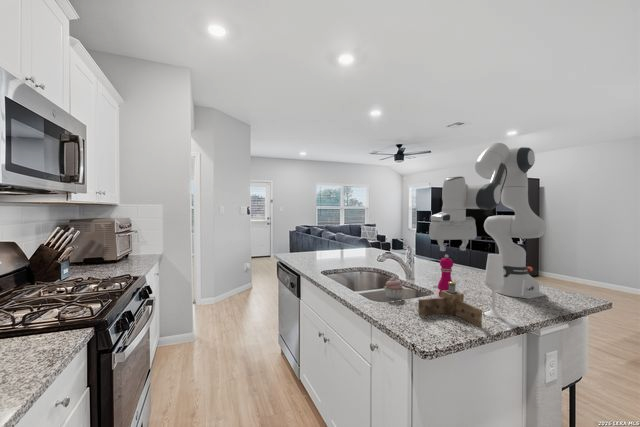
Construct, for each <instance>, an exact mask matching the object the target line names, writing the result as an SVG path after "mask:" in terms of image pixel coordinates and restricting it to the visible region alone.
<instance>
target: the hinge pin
mask: <svg viewBox="0 0 640 427" xmlns="http://www.w3.org/2000/svg"><path fill="white" fill-rule="evenodd" d="M448 284H449V293H450V294H455V291H456V286H457V282H455V281H452V282H448Z"/></svg>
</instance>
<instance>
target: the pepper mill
mask: <svg viewBox="0 0 640 427" xmlns="http://www.w3.org/2000/svg"><path fill="white" fill-rule="evenodd" d="M439 266H440V271H441V276H440V280H439V281H438V283H437V289H438V290H439V291H438V296H439V298H441V291H444V290H449V284H448V282H453V280H452V272H453V267H454V261H453V260H452V258H449V255H448V254H445V255H444V257H442V258H441V259H440V260H439Z"/></svg>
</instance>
